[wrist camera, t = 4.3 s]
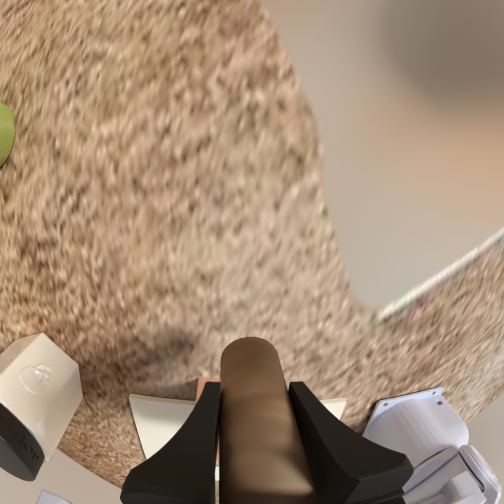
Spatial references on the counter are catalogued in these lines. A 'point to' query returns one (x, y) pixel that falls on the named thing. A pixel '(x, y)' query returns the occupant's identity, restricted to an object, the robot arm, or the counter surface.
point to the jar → (35, 403)
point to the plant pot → (6, 132)
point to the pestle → (259, 430)
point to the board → (179, 419)
